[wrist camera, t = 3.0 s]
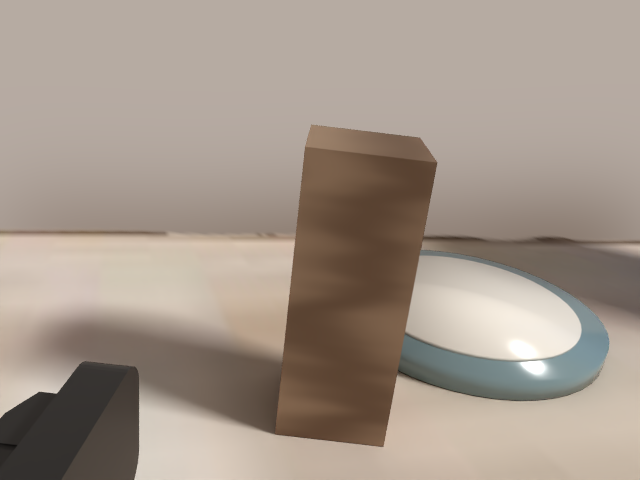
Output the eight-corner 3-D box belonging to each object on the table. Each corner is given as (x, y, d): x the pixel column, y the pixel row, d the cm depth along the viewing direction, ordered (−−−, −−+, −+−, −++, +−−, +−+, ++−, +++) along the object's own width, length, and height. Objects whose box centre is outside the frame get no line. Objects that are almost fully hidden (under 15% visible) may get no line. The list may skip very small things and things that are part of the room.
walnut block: (275, 434, 24) (305, 146, 19) (284, 372, 28) (311, 124, 24) (383, 446, 24) (437, 162, 19) (376, 382, 28) (419, 137, 24)
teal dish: (330, 379, 28) (334, 354, 27) (334, 254, 43) (336, 236, 42) (659, 417, 28) (668, 393, 27) (547, 279, 43) (552, 262, 42)
